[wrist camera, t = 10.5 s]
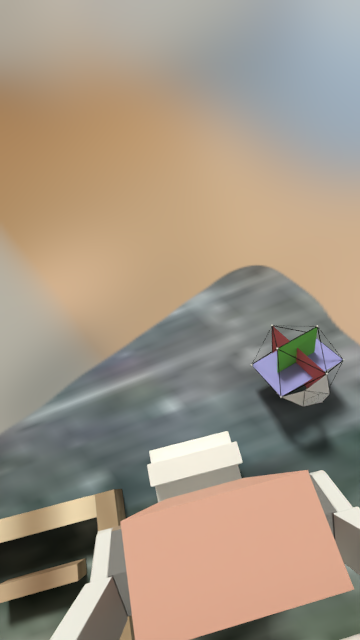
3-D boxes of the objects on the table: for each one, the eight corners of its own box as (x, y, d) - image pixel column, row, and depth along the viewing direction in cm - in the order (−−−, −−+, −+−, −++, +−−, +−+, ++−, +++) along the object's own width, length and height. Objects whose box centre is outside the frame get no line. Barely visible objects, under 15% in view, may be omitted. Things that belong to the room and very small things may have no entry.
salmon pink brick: (174, 547, 18) (136, 655, 7) (165, 499, 19) (120, 521, 8) (256, 523, 19) (354, 589, 7) (242, 478, 20) (307, 469, 8)
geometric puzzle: (230, 337, 31) (275, 353, 23) (287, 307, 32) (347, 313, 24) (256, 399, 32) (307, 434, 24) (310, 368, 33) (374, 391, 26)
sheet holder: (176, 593, 23) (172, 615, 19) (151, 452, 28) (144, 447, 24) (265, 567, 24) (279, 583, 20) (226, 433, 28) (231, 425, 25)
